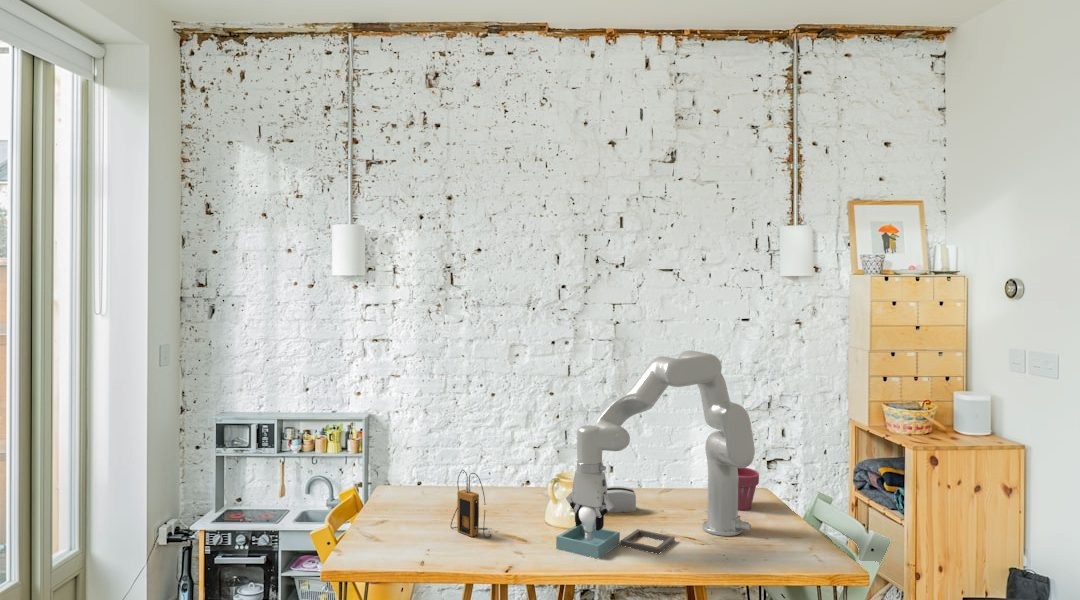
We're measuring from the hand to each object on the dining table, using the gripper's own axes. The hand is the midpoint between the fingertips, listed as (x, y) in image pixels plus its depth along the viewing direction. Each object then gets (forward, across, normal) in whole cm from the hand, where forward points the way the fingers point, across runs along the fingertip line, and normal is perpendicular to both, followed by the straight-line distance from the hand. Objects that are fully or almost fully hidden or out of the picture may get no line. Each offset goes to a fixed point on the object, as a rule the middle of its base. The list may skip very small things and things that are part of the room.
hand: (589, 526), depth 212 cm
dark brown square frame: (+6, -14, -12) cm, 19 cm away
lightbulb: (+4, 0, 0) cm, 4 cm away
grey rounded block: (+6, +9, -34) cm, 36 cm away
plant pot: (+6, -26, -64) cm, 69 cm away
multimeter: (+6, +36, +8) cm, 38 cm away
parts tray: (+6, 0, 0) cm, 6 cm away
